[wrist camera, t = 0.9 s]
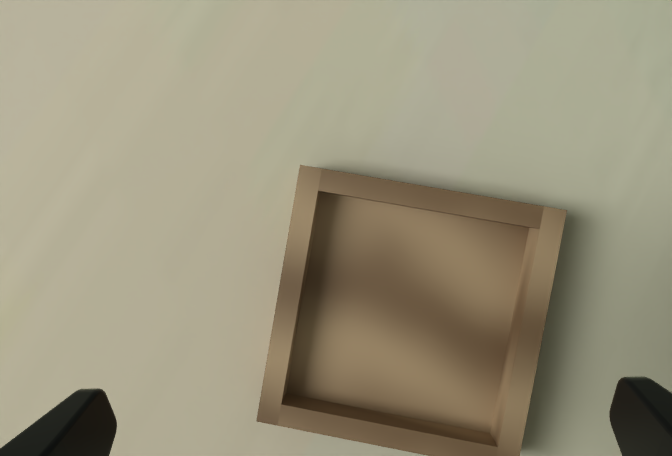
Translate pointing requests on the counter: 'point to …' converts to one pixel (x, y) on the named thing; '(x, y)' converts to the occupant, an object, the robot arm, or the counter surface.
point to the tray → (409, 315)
